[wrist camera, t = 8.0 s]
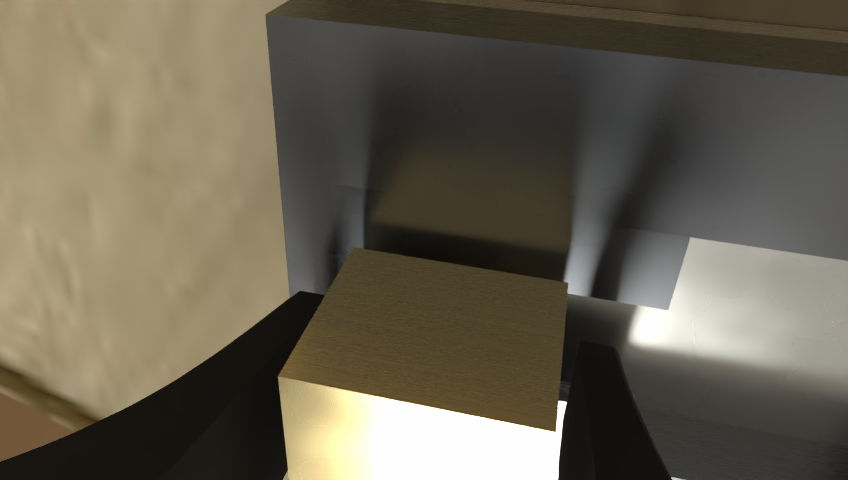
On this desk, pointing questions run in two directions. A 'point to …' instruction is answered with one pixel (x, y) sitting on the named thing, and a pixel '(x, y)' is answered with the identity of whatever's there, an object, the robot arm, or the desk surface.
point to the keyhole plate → (598, 196)
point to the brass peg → (425, 374)
